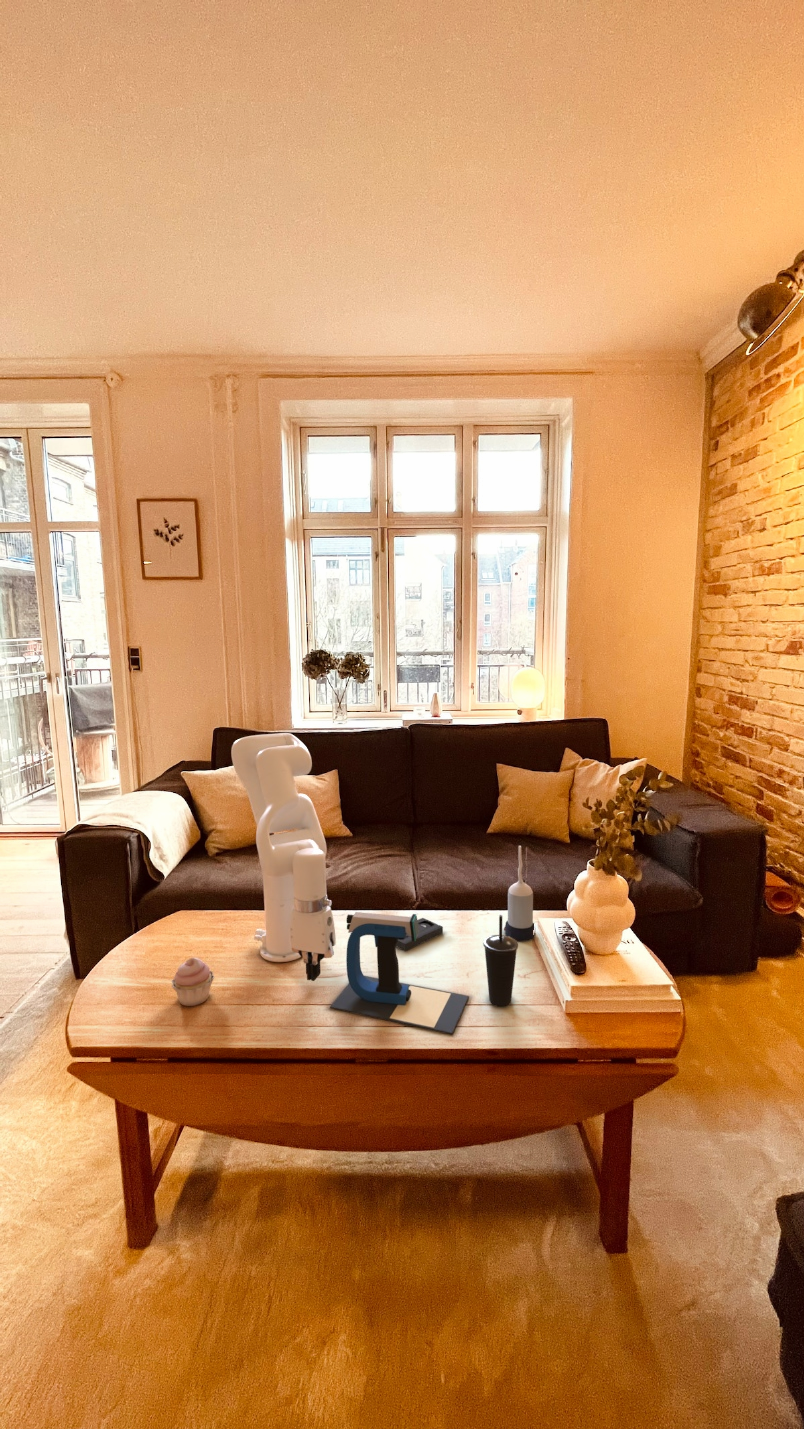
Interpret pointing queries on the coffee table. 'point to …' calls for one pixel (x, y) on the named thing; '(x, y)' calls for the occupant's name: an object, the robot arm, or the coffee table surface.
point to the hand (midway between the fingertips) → (313, 977)
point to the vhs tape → (420, 934)
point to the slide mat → (409, 1008)
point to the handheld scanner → (379, 955)
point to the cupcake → (193, 982)
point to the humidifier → (520, 909)
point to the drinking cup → (500, 966)
